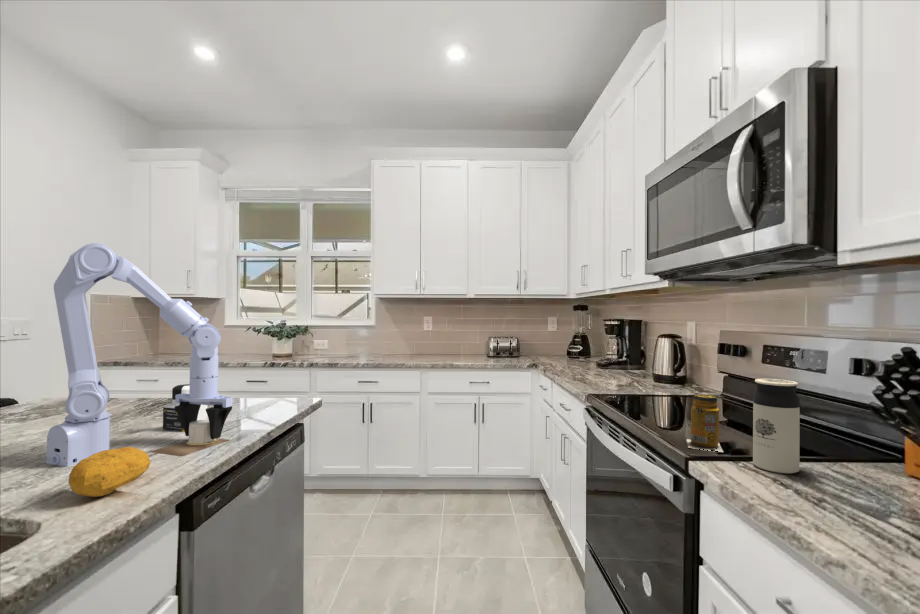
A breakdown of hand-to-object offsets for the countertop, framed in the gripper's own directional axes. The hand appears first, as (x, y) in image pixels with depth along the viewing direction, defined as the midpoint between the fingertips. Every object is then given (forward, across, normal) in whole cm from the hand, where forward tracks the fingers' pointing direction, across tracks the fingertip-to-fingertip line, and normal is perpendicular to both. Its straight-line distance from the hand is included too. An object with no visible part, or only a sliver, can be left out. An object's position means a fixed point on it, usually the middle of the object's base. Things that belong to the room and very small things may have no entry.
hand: (202, 436), depth 106 cm
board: (+2, 0, +3) cm, 4 cm away
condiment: (+3, -110, -41) cm, 117 cm away
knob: (+1, 0, 0) cm, 1 cm away
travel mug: (+3, -121, -28) cm, 124 cm away
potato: (+3, -6, +25) cm, 26 cm away
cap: (+1, 0, 0) cm, 1 cm away
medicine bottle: (+3, +15, -9) cm, 18 cm away
